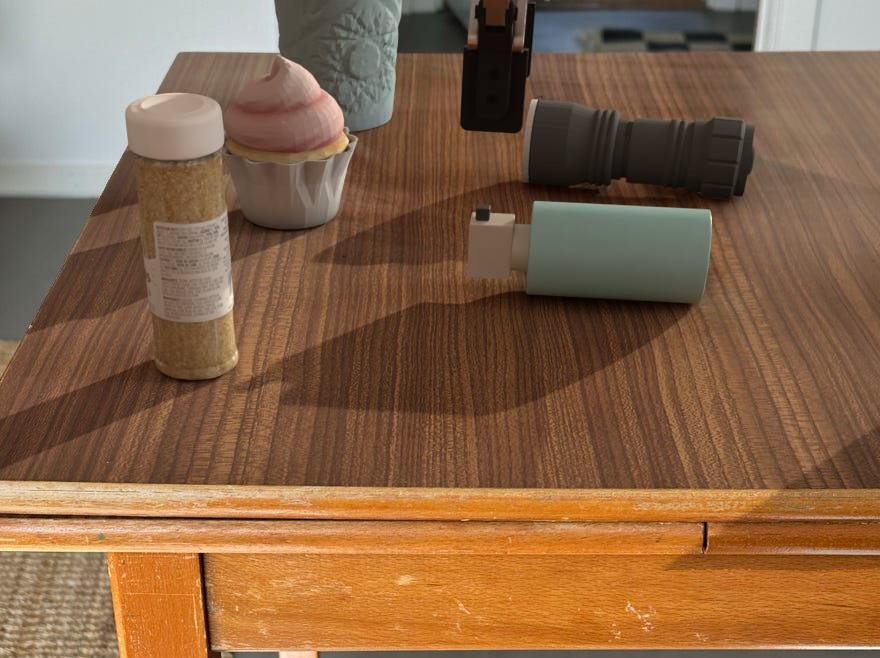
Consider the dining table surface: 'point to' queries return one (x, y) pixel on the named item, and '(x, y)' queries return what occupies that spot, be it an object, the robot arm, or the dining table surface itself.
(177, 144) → the sprinkles bottle
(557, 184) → the flashlight
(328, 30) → the embossed vase
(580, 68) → the dining table surface
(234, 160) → the cupcake
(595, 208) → the spray bottle
